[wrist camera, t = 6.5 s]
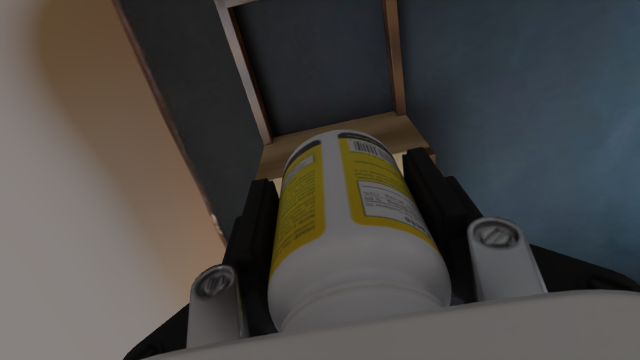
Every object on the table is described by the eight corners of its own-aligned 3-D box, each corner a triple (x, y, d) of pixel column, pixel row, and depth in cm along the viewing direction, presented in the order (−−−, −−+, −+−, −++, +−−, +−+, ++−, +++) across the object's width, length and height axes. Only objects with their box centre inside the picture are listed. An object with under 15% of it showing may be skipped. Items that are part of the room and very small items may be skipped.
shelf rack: (218, -2, 24) (175, 4, 17) (387, -48, 23) (427, -63, 15) (298, 232, 37) (295, 299, 29) (411, 210, 36) (440, 274, 28)
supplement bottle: (297, 230, 15) (285, 461, 8) (269, 139, 12) (211, 354, 5) (401, 213, 14) (488, 439, 7) (393, 115, 12) (513, 312, 5)
